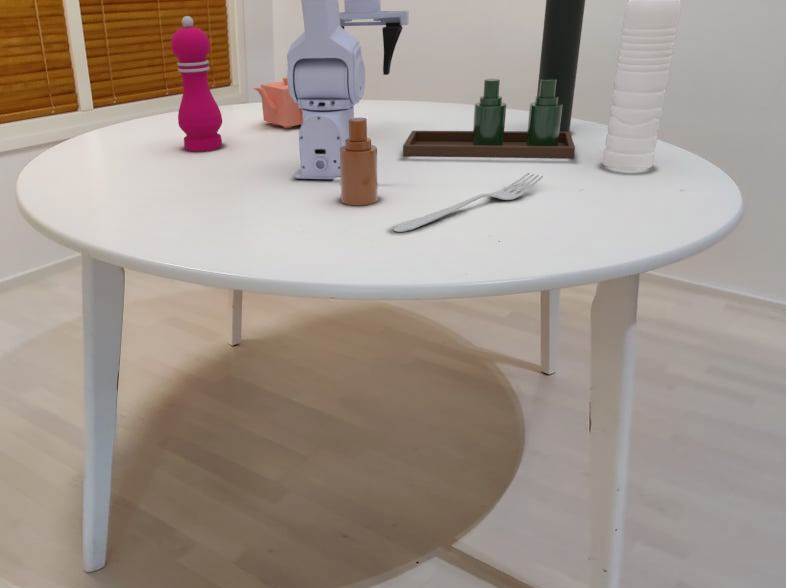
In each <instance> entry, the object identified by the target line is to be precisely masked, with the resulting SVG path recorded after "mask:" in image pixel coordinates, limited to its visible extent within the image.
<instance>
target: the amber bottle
mask: <svg viewBox="0 0 786 588" xmlns="http://www.w3.org/2000/svg"><path fill="white" fill-rule="evenodd" d="M348 123H349V138H348V139H346V140H345V146H343V147H341V148H340V177H339V178H340V198H341V199H340V201H341V203H343V204H344V205H348V206H356V207H357V206H358V207H359V206H367V205H372V204H375V203H376V202H378V147H377V146H376V145H373V144H372V139H371V138H369V137H368V119H367V118H365V117H354V118H351V119H349V120H348Z"/></svg>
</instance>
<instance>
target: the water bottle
mask: <svg viewBox="0 0 786 588" xmlns="http://www.w3.org/2000/svg"><path fill="white" fill-rule="evenodd" d="M681 1H682V0H628V1H627V3H626V6H625V9H624V12H623V13H624V14H623V22H622V26H623V27H622V30H621V34H622V35H621V37H620V43H619V47H620V48H619V50H618V54H619V55H618V57H617V61H618V62H617V64H616V71H615V76H614V81H613V87H614V88H613V90H612V96H611V105H610V108H609V115H610V116H609V118H608V122H607V133H606V136H605V141H604V142H605V143H604V144H605V145H604V146H605V148H604V149H603V155H602V162H601V163H602V165H604V166H605V167H607V168H610V169H616V170H621V171H622V170H623V171H624V170H625V171H640V170H641V171H642V170H646V169H647V170H648V169H650V168H652V167H653V165H654V159H655V149H656V147H657V142H658V134H659V131H660V126H661V125H660V124H661V120H660V119H661V117H662V114H663V105H664V102H665V97H666V88H667V86H668V82H669V75H670V68H671V62H672V58H673V57H672V55H673V54H674V45H675V40H676V34H677V31H678V28H677V27H678V25H679V21H680V16H681V11H682V2H681Z"/></svg>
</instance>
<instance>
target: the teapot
mask: <svg viewBox="0 0 786 588" xmlns="http://www.w3.org/2000/svg"><path fill="white" fill-rule="evenodd" d="M252 90H254V91H256V92H258V94H259V96H260V99H261V104H262V105H261V106H262V116H263V121H264V122H268V123H271V124H272V126H281V127H283V128H282V129H292V128H293V126H294V127H295V126H298V125H300V126H301V125H302V124H303V113H302V109H299V108H298V103H295V102H294V100H293V99H292V98H291V96H290V94H289V90H288V84H287V76H284V77H282V81H277V82H269V83H262V84H260V87H253V88H252Z"/></svg>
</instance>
